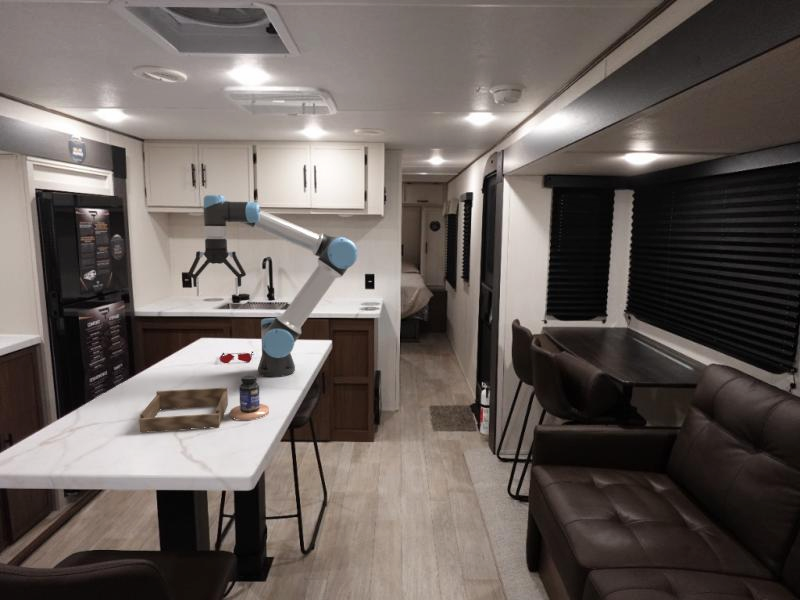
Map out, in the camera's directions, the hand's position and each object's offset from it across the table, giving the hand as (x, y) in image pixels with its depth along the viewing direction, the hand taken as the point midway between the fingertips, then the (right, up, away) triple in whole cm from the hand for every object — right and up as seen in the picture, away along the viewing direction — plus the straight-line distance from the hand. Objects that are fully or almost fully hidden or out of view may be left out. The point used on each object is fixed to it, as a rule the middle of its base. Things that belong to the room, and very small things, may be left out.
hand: (218, 295), depth 182 cm
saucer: (+19, -39, -23) cm, 49 cm away
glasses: (-7, -30, +44) cm, 53 cm away
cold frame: (+1, -39, -27) cm, 48 cm away
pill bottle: (+19, -38, -24) cm, 48 cm away
